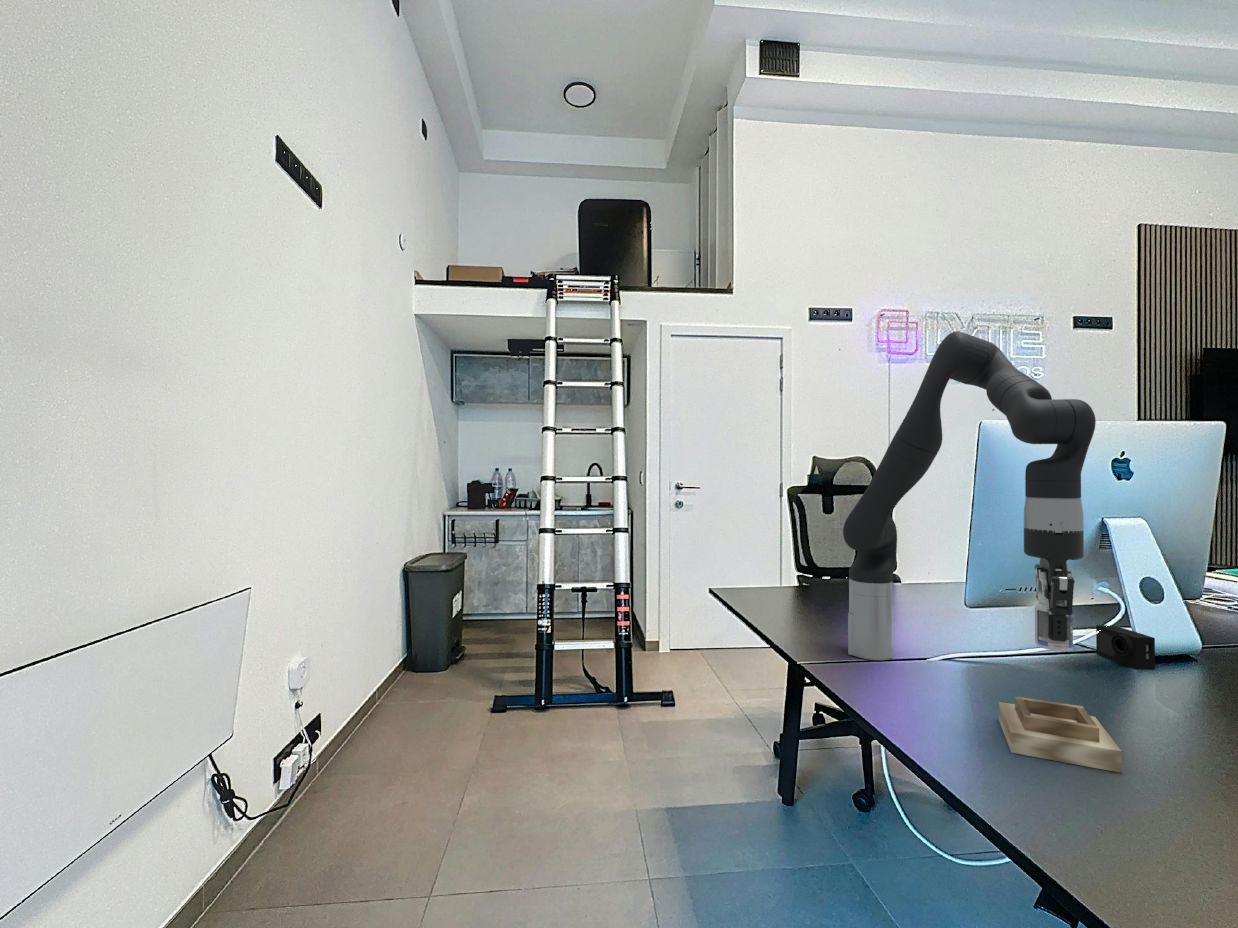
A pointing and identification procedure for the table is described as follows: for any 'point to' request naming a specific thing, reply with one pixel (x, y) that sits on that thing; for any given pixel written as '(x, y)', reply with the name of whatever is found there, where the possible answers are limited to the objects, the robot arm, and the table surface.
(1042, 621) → the pill bottle
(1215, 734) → the table surface
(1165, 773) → the table surface
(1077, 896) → the table surface
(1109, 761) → the wooden base
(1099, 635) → the digital camera
